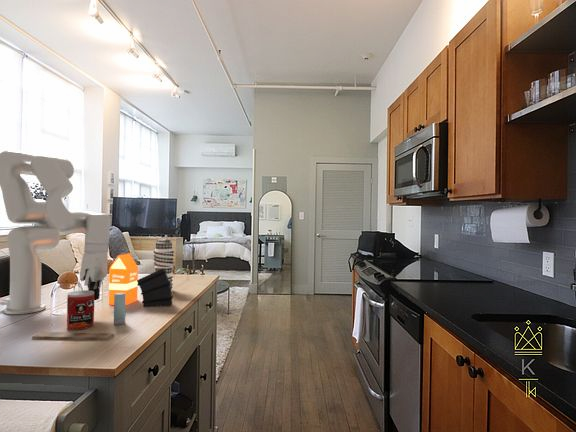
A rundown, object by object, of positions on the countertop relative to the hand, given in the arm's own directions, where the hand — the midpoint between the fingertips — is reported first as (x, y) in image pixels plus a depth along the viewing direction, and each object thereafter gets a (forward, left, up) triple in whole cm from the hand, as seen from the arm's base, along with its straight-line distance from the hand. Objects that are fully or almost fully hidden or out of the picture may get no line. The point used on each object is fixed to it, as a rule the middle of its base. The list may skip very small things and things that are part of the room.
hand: (93, 299), depth 127 cm
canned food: (+1, -10, -7) cm, 12 cm away
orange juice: (0, +23, -7) cm, 24 cm away
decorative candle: (+9, +45, -7) cm, 46 cm away
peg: (+12, -6, -7) cm, 15 cm away
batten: (+5, -20, -7) cm, 22 cm away
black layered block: (+15, +18, -7) cm, 24 cm away
